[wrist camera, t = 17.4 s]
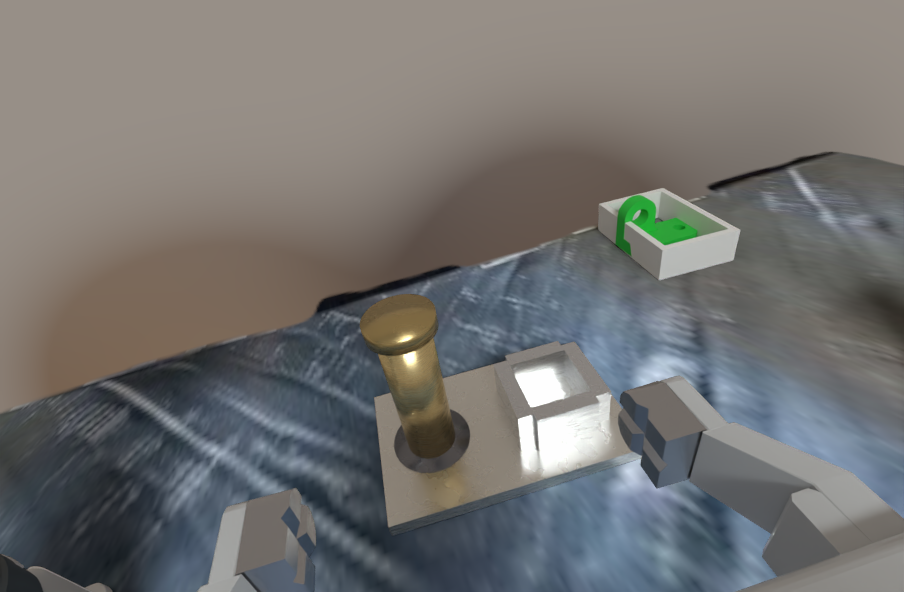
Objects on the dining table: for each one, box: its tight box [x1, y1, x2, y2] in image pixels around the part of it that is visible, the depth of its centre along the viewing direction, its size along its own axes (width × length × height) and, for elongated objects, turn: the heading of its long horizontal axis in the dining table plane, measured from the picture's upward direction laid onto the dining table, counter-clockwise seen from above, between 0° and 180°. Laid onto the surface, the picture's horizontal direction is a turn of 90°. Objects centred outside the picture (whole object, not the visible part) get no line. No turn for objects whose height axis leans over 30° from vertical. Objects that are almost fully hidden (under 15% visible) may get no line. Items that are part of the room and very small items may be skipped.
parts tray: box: [598, 188, 740, 280], centre depth 71 cm, size 12×18×5 cm, turn 13°
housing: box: [374, 341, 641, 536], centre depth 46 cm, size 25×16×6 cm, turn 103°
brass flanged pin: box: [360, 294, 455, 459], centre depth 42 cm, size 6×6×16 cm
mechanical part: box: [615, 195, 698, 257], centre depth 70 cm, size 12×6×8 cm, turn 106°
